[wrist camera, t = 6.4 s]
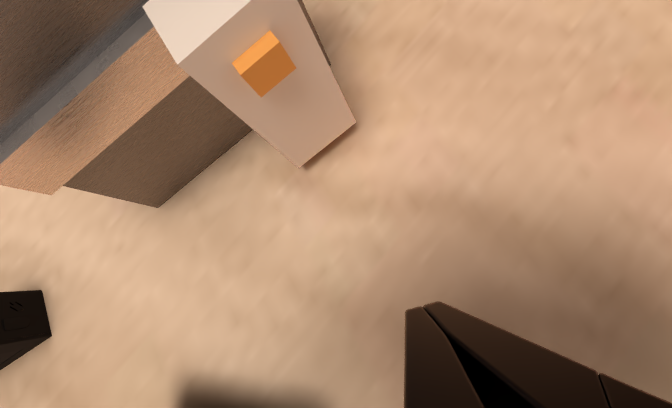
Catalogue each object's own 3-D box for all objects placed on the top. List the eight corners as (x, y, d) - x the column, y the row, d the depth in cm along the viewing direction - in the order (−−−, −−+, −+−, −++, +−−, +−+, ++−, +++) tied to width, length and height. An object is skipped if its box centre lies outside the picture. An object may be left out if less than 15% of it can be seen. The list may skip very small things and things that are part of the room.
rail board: (338, 72, 24) (189, -272, 9) (162, 217, 25) (-223, 140, 10) (296, 26, 26) (115, -325, 11) (135, 163, 27) (-223, 30, 12)
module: (363, 130, 21) (294, -17, 11) (304, 176, 21) (185, 78, 11) (324, 85, 23) (234, -78, 12) (271, 129, 23) (142, 6, 13)
